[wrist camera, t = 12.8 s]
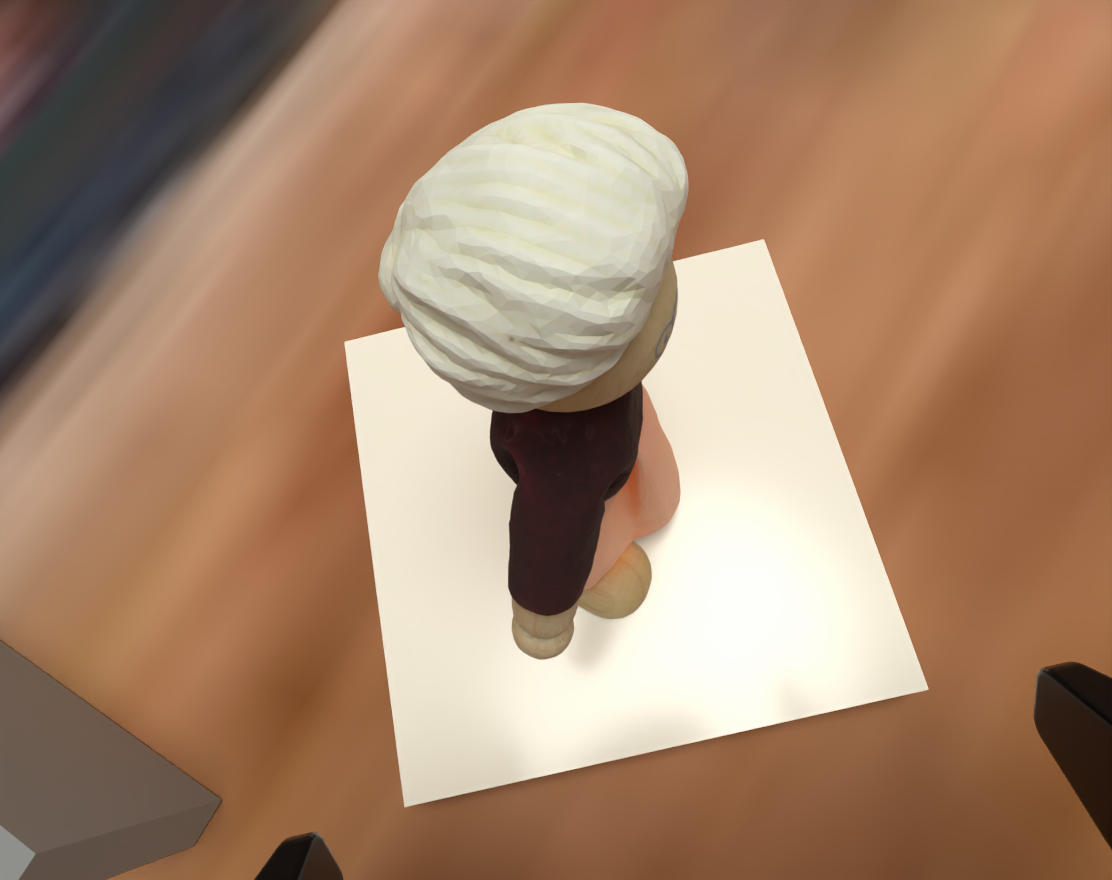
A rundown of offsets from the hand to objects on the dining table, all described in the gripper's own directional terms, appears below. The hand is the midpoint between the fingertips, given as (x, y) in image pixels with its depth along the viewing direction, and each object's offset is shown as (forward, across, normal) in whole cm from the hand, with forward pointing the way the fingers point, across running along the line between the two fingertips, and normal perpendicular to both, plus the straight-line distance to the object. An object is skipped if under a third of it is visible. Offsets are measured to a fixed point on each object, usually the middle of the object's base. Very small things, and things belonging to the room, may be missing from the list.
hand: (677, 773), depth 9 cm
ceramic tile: (+11, 0, +2) cm, 11 cm away
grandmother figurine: (+10, 0, +2) cm, 10 cm away
